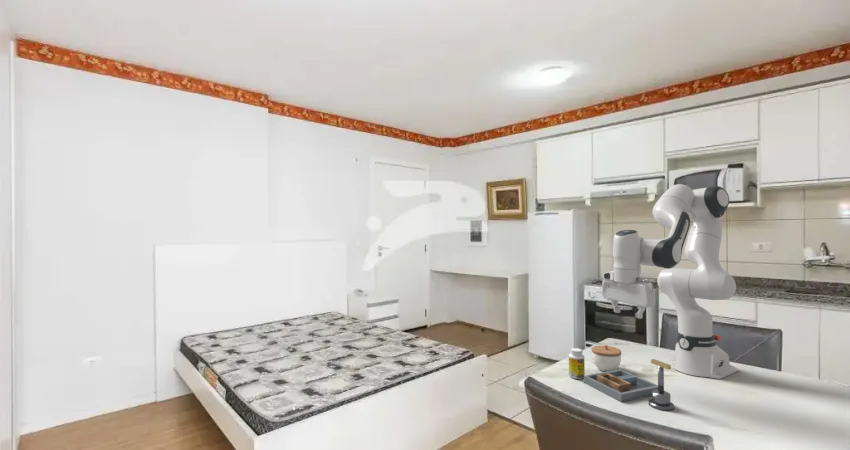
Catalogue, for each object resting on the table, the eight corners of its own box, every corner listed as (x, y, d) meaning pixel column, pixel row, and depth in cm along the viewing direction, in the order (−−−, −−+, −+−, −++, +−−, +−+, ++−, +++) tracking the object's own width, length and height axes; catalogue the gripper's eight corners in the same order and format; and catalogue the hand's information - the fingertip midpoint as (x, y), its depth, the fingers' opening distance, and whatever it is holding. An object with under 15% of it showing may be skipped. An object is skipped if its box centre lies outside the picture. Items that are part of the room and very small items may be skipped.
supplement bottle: (578, 380, 148) (578, 352, 148) (565, 376, 153) (565, 349, 153) (587, 377, 151) (587, 350, 151) (575, 373, 156) (574, 346, 156)
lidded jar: (623, 367, 161) (622, 343, 161) (619, 376, 152) (619, 351, 152) (594, 362, 167) (594, 339, 167) (589, 371, 158) (588, 346, 158)
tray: (620, 375, 152) (620, 369, 152) (660, 393, 136) (660, 386, 136) (583, 382, 147) (583, 375, 146) (621, 402, 131) (621, 394, 131)
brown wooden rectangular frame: (646, 389, 139) (645, 380, 139) (619, 394, 135) (618, 385, 135) (622, 378, 148) (622, 370, 148) (596, 383, 144) (596, 375, 144)
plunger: (643, 402, 130) (642, 360, 130) (659, 399, 132) (659, 357, 132) (662, 412, 123) (662, 367, 123) (679, 408, 126) (679, 364, 125)
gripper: (659, 279, 135) (660, 320, 135) (611, 272, 154) (612, 308, 154) (645, 280, 133) (646, 323, 133) (598, 273, 152) (599, 310, 152)
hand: (627, 315), depth 144 cm, fingers open, 8 cm apart
